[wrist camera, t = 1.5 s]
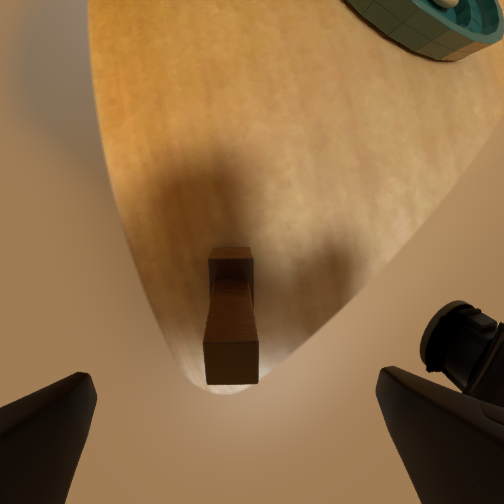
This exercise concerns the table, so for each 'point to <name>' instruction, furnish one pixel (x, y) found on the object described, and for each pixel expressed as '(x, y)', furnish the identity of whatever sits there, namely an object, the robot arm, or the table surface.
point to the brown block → (231, 319)
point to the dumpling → (446, 3)
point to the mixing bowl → (436, 25)
